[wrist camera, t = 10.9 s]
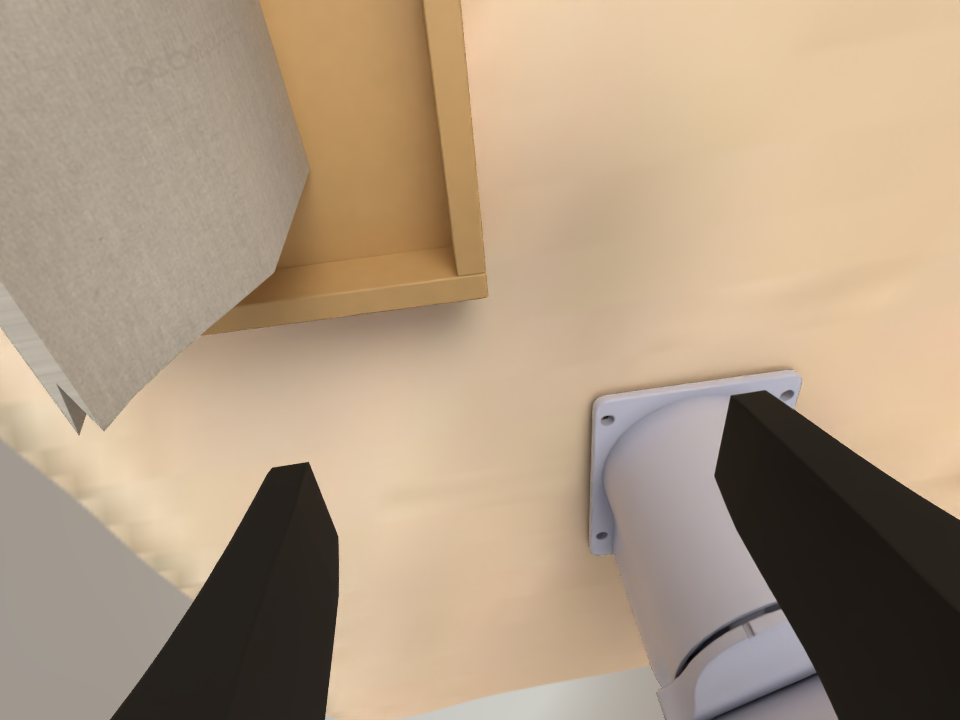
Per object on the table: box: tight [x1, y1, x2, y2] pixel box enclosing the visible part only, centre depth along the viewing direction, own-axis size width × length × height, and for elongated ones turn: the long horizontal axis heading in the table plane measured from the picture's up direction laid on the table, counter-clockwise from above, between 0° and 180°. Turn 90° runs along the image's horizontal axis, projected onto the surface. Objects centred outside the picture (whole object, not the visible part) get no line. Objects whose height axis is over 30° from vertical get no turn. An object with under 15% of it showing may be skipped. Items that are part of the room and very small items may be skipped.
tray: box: [200, 0, 488, 336], centre depth 14 cm, size 14×13×2 cm
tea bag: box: [0, 0, 310, 435], centre depth 11 cm, size 4×7×10 cm, turn 7°
